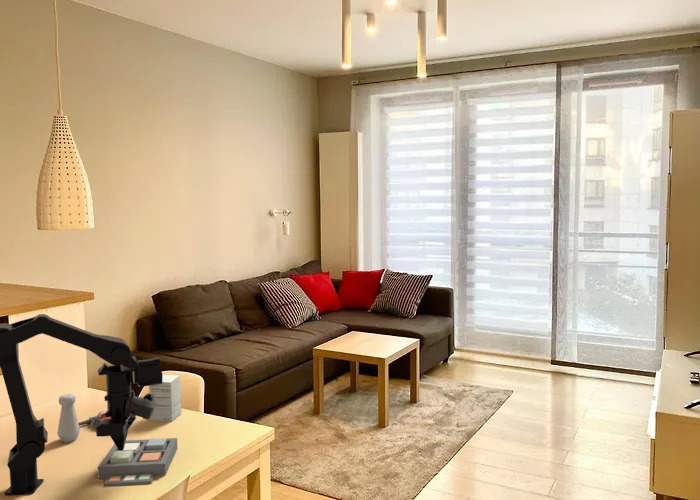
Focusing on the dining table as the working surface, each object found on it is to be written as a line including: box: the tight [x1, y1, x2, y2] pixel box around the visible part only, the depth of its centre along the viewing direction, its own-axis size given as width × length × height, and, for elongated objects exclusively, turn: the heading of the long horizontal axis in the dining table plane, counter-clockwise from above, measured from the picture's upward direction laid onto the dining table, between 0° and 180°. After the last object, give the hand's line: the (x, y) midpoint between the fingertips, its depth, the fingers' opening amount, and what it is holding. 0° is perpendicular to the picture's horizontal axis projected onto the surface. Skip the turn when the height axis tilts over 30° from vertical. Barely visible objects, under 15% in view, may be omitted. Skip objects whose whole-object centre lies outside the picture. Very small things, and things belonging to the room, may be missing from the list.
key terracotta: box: [139, 452, 161, 462], centre depth 152 cm, size 4×4×2 cm
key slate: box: [146, 437, 167, 451], centre depth 159 cm, size 4×4×2 cm
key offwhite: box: [118, 443, 140, 451], centre depth 158 cm, size 4×4×2 cm
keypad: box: [97, 437, 178, 487], centre depth 153 cm, size 20×16×3 cm
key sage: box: [110, 450, 133, 464], centre depth 151 cm, size 4×4×2 cm
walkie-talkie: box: [78, 409, 137, 429], centre depth 182 cm, size 9×4×20 cm
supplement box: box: [148, 374, 182, 423], centre depth 188 cm, size 7×7×13 cm
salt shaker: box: [56, 393, 81, 444], centre depth 170 cm, size 6×6×13 cm
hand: (121, 449), depth 151 cm, fingers closed
